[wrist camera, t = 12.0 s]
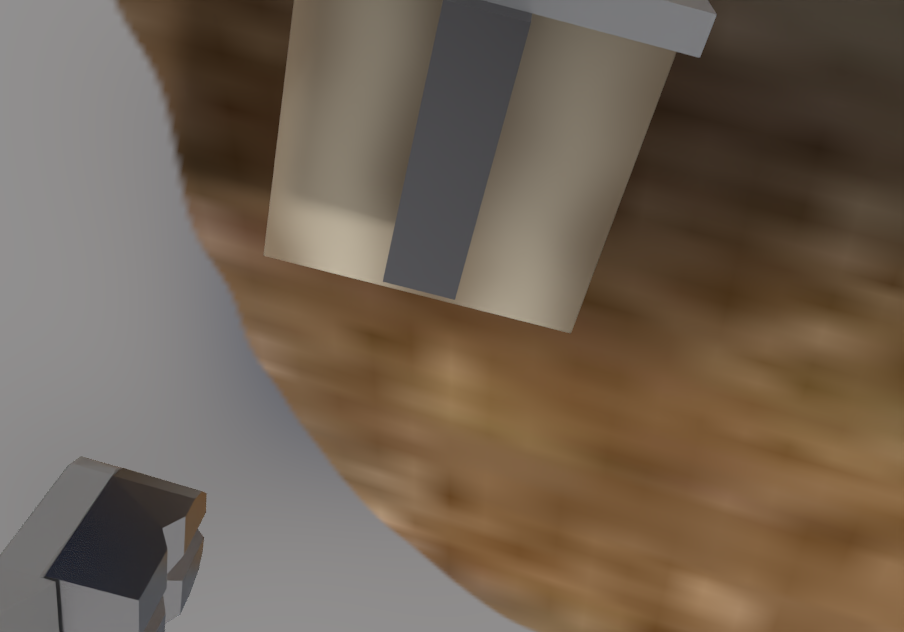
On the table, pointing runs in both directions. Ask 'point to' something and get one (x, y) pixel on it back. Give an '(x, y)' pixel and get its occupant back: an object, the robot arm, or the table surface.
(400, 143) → the bench plate
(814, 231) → the table surface
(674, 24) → the grey block
